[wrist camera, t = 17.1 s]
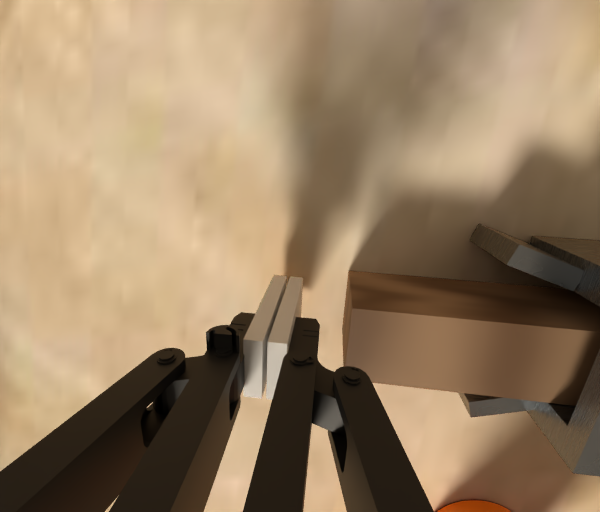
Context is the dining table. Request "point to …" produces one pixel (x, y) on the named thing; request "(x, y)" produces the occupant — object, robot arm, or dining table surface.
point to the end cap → (596, 393)
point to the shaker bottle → (474, 507)
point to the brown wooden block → (470, 336)
